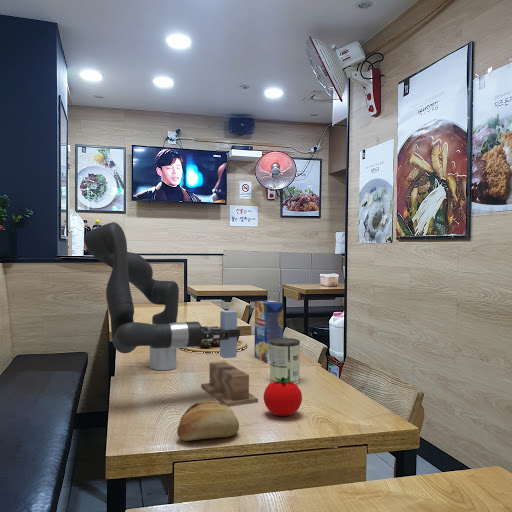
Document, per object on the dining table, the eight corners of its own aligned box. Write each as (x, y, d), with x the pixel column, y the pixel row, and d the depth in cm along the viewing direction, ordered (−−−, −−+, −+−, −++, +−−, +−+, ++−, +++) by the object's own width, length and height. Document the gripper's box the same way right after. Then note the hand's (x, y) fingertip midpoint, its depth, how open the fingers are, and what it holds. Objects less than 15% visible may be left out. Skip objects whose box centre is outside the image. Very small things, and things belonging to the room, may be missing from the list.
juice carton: (283, 361, 191) (283, 303, 191) (266, 363, 188) (267, 303, 188) (270, 355, 202) (270, 300, 202) (254, 357, 199) (254, 301, 199)
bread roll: (171, 434, 112) (172, 401, 112) (230, 426, 118) (230, 394, 118) (182, 450, 103) (183, 413, 103) (245, 439, 109) (245, 405, 109)
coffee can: (274, 376, 167) (274, 337, 167) (302, 379, 164) (302, 338, 164) (265, 383, 158) (266, 341, 158) (295, 386, 154) (295, 343, 154)
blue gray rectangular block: (224, 358, 142) (225, 312, 142) (219, 355, 146) (220, 310, 146) (236, 357, 144) (237, 311, 144) (231, 354, 147) (232, 310, 148)
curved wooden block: (257, 402, 137) (258, 374, 137) (226, 406, 133) (226, 378, 133) (229, 383, 157) (229, 359, 157) (201, 386, 153) (201, 362, 153)
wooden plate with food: (175, 343, 232) (175, 326, 232) (237, 339, 241) (237, 323, 241) (185, 358, 201) (185, 338, 201) (255, 353, 211) (255, 335, 211)
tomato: (270, 406, 133) (271, 371, 133) (306, 411, 129) (306, 375, 129) (257, 418, 123) (258, 380, 124) (295, 423, 120) (295, 384, 120)
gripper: (191, 325, 132) (246, 322, 140) (177, 319, 145) (228, 317, 153) (190, 351, 132) (246, 347, 140) (176, 343, 145) (228, 340, 153)
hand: (236, 331), depth 146 cm, fingers closed on blue gray rectangular block, 4 cm apart
